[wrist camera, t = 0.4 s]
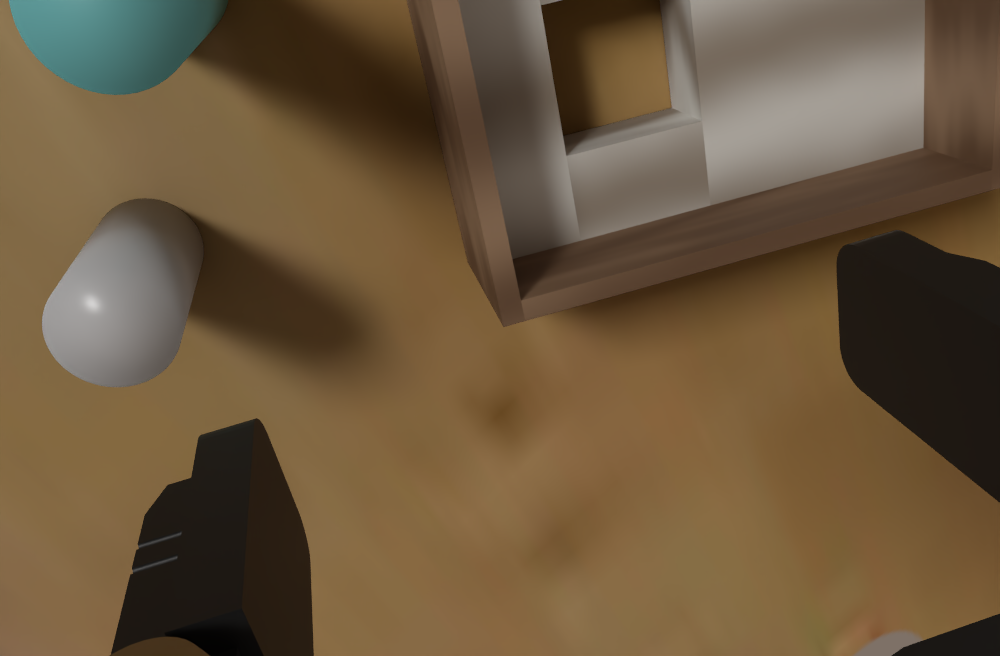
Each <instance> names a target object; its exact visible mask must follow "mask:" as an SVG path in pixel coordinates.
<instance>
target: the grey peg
mask: <svg viewBox="0 0 1000 656" xmlns="http://www.w3.org/2000/svg"><path fill="white" fill-rule="evenodd" d="M203 257H204V246H203V240H202V237H201V234H200V232H199V230H198V228H197V226H196V225H195V223H194V222H193V221H192V220H191V218H190V217H189V216H188V215H187V214H186V213H184V212H183V211H182V210H180V209H179V208H177V207H175V206H174V205H172V204H169V203H167V202H164V201H161V200H156V199H146V198H144V199H134V200H130V201H127V202H124V203H121V204H119V205H117V206H116V207H114V208H113V209H111V210H110V211H109V212H108V213H107V214H106V215H105V216H104V217H103V219H102V220H101V222H100V223H99V225H98V226H97V228H96V229H95V231H94V232H93V233H92V235H91V236H90V238H89V239H88V241H87V242H86V244H85V245H84V247H83V248H82V250H81V251H80V253H79V254H78V256H77V257H76V259H75V260H74V262H73V263H72V264H71V266H70V267H69V269H68V270H67V272H66V273H65V275H64V276H63V278H62V279H61V281H60V282H59V284H58V285H57V287H56V288H55V290H54V291H53V293H52V294H51V296H50V297H49V299H48V301H47V303H46V305H45V308H44V312H43V318H42V329H43V335H44V339H45V342H46V344H47V347H48V348H49V350H50V352H51V354H52V355H53V356H54V358H55V359H56V360H57V361H58V362H59V363H60V364H61V365H62V367H64V368H65V369H66V370H67V371H69V372H70V373H72V374H73V375H75V376H76V377H78V378H80V379H82V380H84V381H87V382H90V383H93V384H97V385H101V386H108V387H126V386H132V385H137V384H140V383H143V382H146V381H148V380H150V379H152V378H154V377H155V376H157V375H159V374H160V373H161V372H162V371H164V370H165V369H166V368H167V367H168V366H169V364H170V363H171V362H172V361H173V359H174V358H175V356H176V354H177V352H178V350H179V346H180V343H181V339H182V336H183V332H184V328H185V325H186V321H187V317H188V314H189V310H190V306H191V303H192V299H193V295H194V292H195V288H196V284H197V281H198V277H199V273H200V270H201V266H202V262H203Z"/></svg>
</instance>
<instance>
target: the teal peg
mask: <svg viewBox="0 0 1000 656" xmlns="http://www.w3.org/2000/svg"><path fill="white" fill-rule="evenodd" d="M9 3H10V8H11V12H12V16H13V19H14V21H15V24H16V27H17V29H18V31H19V33H20V35H21V37H22V38H23V40H24V41H25V43H26V45H27V46H28V48H29V49H30V50H31V51H32V53H33V54H34V55H35V56H36V57H37V59H38V60H39V61H41V62H42V63H43V64H44V65H45V66H46V67H47V68H48V69H49V70H51V71H52V72H53V73H54V74H56V75H57V76H59V77H60V78H62V79H64V80H65V81H67V82H69V83H71V84H73V85H75V86H77V87H80V88H83V89H86V90H89V91H92V92H97V93H102V94H112V95H121V94H131V93H137V92H140V91H144V90H147V89H149V88H152V87H154V86H156V85H158V84H160V83H161V82H163V81H164V80H166V79H167V78H168V77H169V76H171V75H172V74H173V73H174V72H175V71H176V70H177V69H178V68H179V67H180V65H181V64H182V63H183V62H184V61H185V60H186V59H187V58H188V57H189V55H190V54H191V53H192V52H193V51H194V50H195V49H196V48H197V46H198V45H199V44H200V43H201V42H202V41H203V40H204V39H205V38H206V36H207V35H208V34H209V33H210V32H211V31H212V30H213V29H214V27H215V26H216V25H217V24H218V23H219V21H220V20H221V18H222V17H223V15H224V12H225V10H226V7H227V3H228V0H9Z"/></svg>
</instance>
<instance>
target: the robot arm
mask: <svg viewBox="0 0 1000 656" xmlns="http://www.w3.org/2000/svg"><path fill="white" fill-rule="evenodd" d="M837 289H838V312H839V334H840V350H841V355H842V359H843V362H844V365H845V368H846V370H847V372H848V374H849V376H850V378H851V379H852V381H853V382H854V383H855V385H856V386H857V387H858V388H859V389H860V390H861V391H862V392H864V393H865V394H866V395H867V396H869V397H870V398H871V399H872V400H874V401H875V402H876V403H877V404H878V405H880V406H881V407H882V408H883V409H885V410H886V411H887V412H888V413H890V414H891V415H892V416H893V417H895V418H896V419H897V420H898V421H899V422H901V423H902V424H903V425H904V426H906V427H907V428H908V429H909V430H911V431H912V432H913V433H914V434H916V435H917V436H918V437H919V438H921V439H922V440H923V441H924V442H925V443H927V444H928V445H929V446H930V447H932V448H933V449H934V450H935V451H937V452H938V453H939V454H940V455H942V456H943V457H944V458H945V459H946V460H948V461H949V462H950V463H951V464H953V465H954V466H955V467H956V468H958V469H959V470H960V471H961V472H963V473H964V474H965V475H966V476H968V477H969V478H970V479H971V480H972V481H974V482H975V483H976V484H977V485H979V486H980V487H981V488H982V489H984V490H985V491H986V492H987V493H989V494H990V495H991V496H992V497H994V498H995V499H996V500H997V501H998V502H1000V268H999V267H997V266H995V265H993V264H991V263H989V262H987V261H983V260H979V259H974V258H969V257H965V256H960V255H955V254H951V253H946V252H944V251H942V250H940V249H938V248H936V247H934V246H932V245H930V244H928V243H926V242H924V241H922V240H920V239H918V238H916V237H914V236H912V235H910V234H908V233H906V232H903V231H901V230H895V231H891V232H888V233H884V234H881V235H878V236H874V237H871V238H867V239H864V240H861V241H857V242H854V243H851V244H847V245H845V246H843V247H842V248H841V249H840V251H839V254H838V257H837ZM138 546H139V549H138V550H136V553H135V557H134V562H133V566H132V570H133V574H131V575H130V578H129V582H128V586H127V590H126V594H125V599H124V603H123V607H122V611H121V615H120V619H119V623H118V627H117V631H116V636H115V640H114V644H113V648H112V652H111V655H110V656H314V652H313V624H312V596H311V567H310V554H309V548H308V543H307V538H306V534H305V530H304V527H303V523H302V520H301V517H300V514H299V512H298V509H297V507H296V504H295V502H294V499H293V497H292V494H291V492H290V489H289V487H288V484H287V482H286V479H285V477H284V474H283V472H282V469H281V467H280V464H279V462H278V459H277V457H276V454H275V452H274V449H273V447H272V444H271V442H270V439H269V437H268V434H267V432H266V430H265V428H264V426H263V424H262V423H261V421H260V420H259V419H257V418H256V419H253V420H250V421H246V422H243V423H240V424H236V425H233V426H230V427H226V428H223V429H219V430H216V431H213V432H209V433H206V434H203V435H200V436H199V438H198V443H197V448H196V454H195V460H194V465H193V471H192V477H191V478H189V479H186V480H183V481H179V482H176V483H173V484H169V485H167V486H166V488H165V489H164V490H163V492H162V493H161V494H160V496H159V497H158V498H157V500H156V501H155V502H154V504H153V505H152V506H151V508H150V509H149V510H148V511H147V513H146V514H145V516H144V520H143V525H142V529H141V533H140V537H139V541H138ZM892 656H1000V614H998V615H995V616H992V617H989V618H986V619H983V620H980V621H978V622H975V623H972V624H969V625H966V626H963V627H960V628H958V629H955V630H952V631H949V632H946V633H943V634H940V635H938V636H935V637H932V638H929V639H926V640H923V641H920V642H918V643H915V644H912V645H909V646H907V647H903V648H902V649H901V650H899V651H898V652H896V653H895V654H893V655H892Z"/></svg>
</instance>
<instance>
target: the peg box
mask: <svg viewBox="0 0 1000 656" xmlns="http://www.w3.org/2000/svg"><path fill="white" fill-rule="evenodd" d="M557 1H561V0H407V3H408V7H409V12H410V16H411V20H412V24H413V29H414V33H415V37H416V42H417V46H418V50H419V54H420V59H421V63H422V67H423V72H424V76H425V80H426V84H427V89H428V93H429V97H430V102H431V106H432V110H433V115H434V119H435V123H436V127H437V132H438V136H439V140H440V145H441V149H442V153H443V157H444V162H445V166H446V170H447V175H448V179H449V183H450V187H451V192H452V196H453V200H454V205H455V209H456V213H457V217H458V222H459V226H460V230H461V235H462V239H463V243H464V247H465V252H466V256H467V260H468V263H469V265H470V267H471V269H472V271H473V272H474V274H475V276H476V278H477V280H478V281H479V283H480V285H481V287H482V289H483V291H484V292H485V294H486V296H487V298H488V300H489V301H490V303H491V305H492V307H493V309H494V310H495V312H496V314H497V316H498V318H499V319H500V321H501V323H502V325H503V327H505V326H509V325H512V324H516V323H519V322H523V321H527V320H530V319H534V318H537V317H541V316H544V315H548V314H552V313H555V312H559V311H562V310H566V309H569V308H573V307H577V306H580V305H584V304H587V303H591V302H594V301H598V300H602V299H605V298H609V297H612V296H616V295H619V294H623V293H627V292H630V291H634V290H637V289H641V288H644V287H648V286H652V285H655V284H659V283H662V282H666V281H669V280H673V279H677V278H680V277H684V276H687V275H691V274H694V273H698V272H702V271H705V270H709V269H712V268H716V267H719V266H723V265H727V264H730V263H734V262H737V261H741V260H744V259H748V258H752V257H755V256H759V255H762V254H766V253H769V252H773V251H777V250H780V249H784V248H787V247H791V246H794V245H798V244H802V243H805V242H809V241H812V240H816V239H819V238H823V237H827V236H830V235H834V234H837V233H841V232H844V231H848V230H852V229H855V228H859V227H862V226H866V225H869V224H873V223H877V222H880V221H884V220H887V219H891V218H894V217H898V216H902V215H905V214H909V213H912V212H916V211H919V210H923V209H927V208H930V207H934V206H937V205H941V204H944V203H948V202H952V201H955V200H959V199H962V198H966V197H969V196H973V195H977V194H980V193H984V192H987V191H991V190H994V189H998V188H1000V0H660V8H661V16H662V25H663V34H664V43H665V51H666V60H667V69H668V78H669V86H670V95H671V104H672V108H670V109H666V110H662V111H658V112H654V113H650V114H647V115H643V116H639V117H635V118H631V119H627V120H623V121H619V122H616V123H612V124H608V125H604V126H600V127H596V128H592V129H588V130H584V131H581V132H577V133H573V134H569V135H565V136H563V133H562V128H561V122H560V116H559V110H558V104H557V98H556V92H555V87H554V81H553V75H552V69H551V63H550V57H549V51H548V46H547V40H546V34H545V28H544V22H543V16H542V10H541V5H544V4H548V3H552V2H557Z"/></svg>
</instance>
